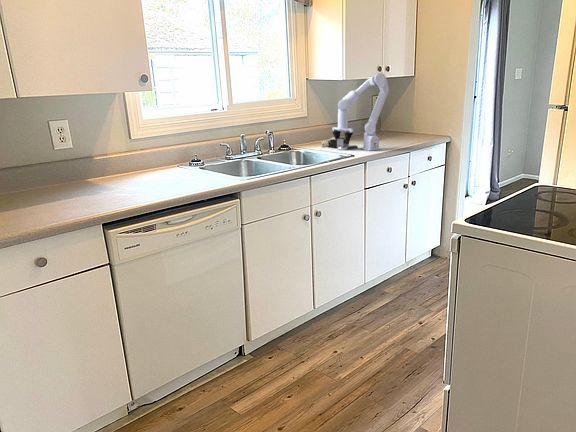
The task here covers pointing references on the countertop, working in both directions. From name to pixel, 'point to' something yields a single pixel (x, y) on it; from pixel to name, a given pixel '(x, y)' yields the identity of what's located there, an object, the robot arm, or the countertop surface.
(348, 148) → the ratchet
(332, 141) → the pneumatic valve
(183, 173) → the countertop surface
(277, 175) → the countertop surface
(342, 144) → the hollow square tube
